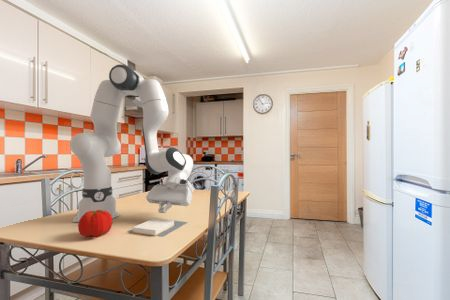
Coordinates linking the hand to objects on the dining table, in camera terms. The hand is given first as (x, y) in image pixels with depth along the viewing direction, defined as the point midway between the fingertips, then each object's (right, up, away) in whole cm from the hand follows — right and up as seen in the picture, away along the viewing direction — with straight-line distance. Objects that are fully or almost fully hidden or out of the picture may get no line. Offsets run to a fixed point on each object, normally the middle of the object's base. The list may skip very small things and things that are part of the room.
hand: (161, 212), depth 93 cm
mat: (0, -6, -1) cm, 6 cm away
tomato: (-21, -6, -10) cm, 24 cm away
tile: (+1, -5, +1) cm, 5 cm away
